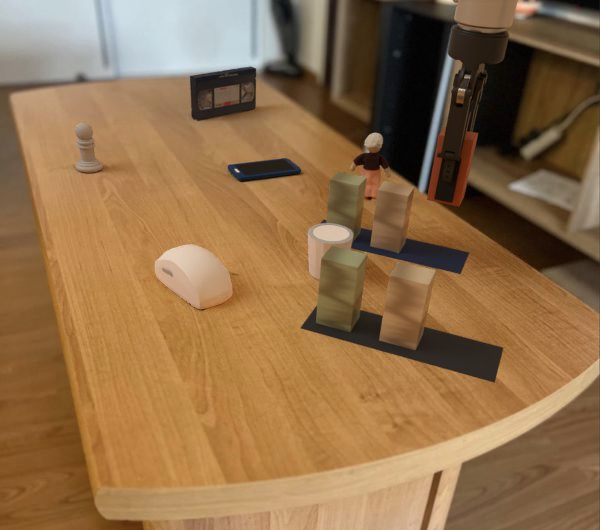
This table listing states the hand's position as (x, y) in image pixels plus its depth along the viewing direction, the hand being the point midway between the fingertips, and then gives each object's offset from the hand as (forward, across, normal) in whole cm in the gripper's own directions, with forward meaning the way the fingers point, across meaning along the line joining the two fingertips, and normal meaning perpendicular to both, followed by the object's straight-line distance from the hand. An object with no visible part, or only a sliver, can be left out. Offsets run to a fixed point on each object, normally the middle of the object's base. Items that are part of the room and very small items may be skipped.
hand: (446, 194), depth 97 cm
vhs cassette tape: (+11, -50, -65) cm, 83 cm away
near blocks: (+11, +25, -3) cm, 27 cm away
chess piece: (+11, -4, -71) cm, 72 cm away
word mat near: (+11, +25, +1) cm, 27 cm away
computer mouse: (+11, +26, -30) cm, 41 cm away
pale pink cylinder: (+11, +13, -14) cm, 22 cm away
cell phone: (+11, -20, -40) cm, 46 cm away
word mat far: (+11, 0, -8) cm, 14 cm away
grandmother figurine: (+11, -17, -17) cm, 27 cm away
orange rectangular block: (+1, 0, 0) cm, 1 cm away
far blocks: (+11, 0, -12) cm, 16 cm away
